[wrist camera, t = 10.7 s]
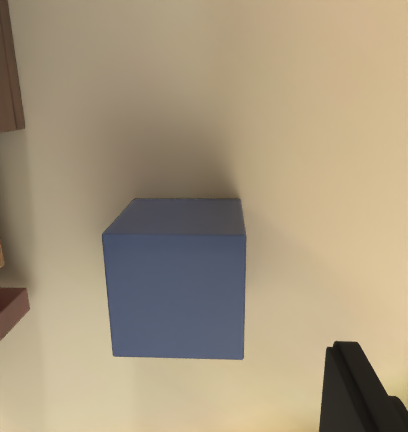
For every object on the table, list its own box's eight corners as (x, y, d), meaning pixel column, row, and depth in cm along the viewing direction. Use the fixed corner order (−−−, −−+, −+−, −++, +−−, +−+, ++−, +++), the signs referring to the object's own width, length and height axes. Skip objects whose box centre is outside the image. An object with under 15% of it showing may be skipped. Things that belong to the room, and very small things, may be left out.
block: (240, 198, 18) (246, 234, 13) (239, 295, 19) (243, 360, 15) (133, 198, 18) (100, 233, 13) (140, 294, 20) (112, 357, 15)
